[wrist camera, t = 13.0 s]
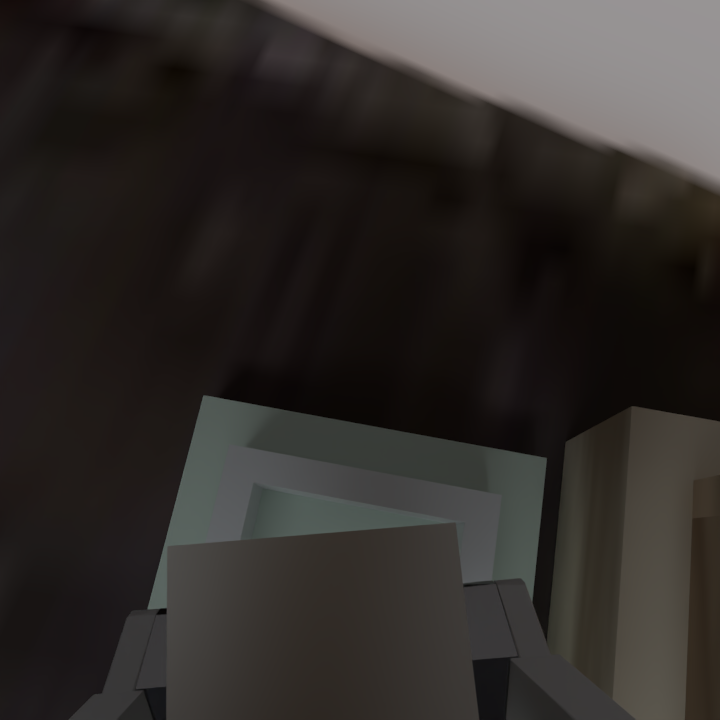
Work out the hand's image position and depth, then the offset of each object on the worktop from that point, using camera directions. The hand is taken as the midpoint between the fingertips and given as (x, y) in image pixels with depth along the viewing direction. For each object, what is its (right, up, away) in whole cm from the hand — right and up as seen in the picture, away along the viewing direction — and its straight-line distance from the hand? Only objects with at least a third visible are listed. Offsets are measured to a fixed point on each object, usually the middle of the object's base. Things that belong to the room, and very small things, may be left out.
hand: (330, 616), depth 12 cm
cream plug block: (0, -2, +4) cm, 5 cm away
